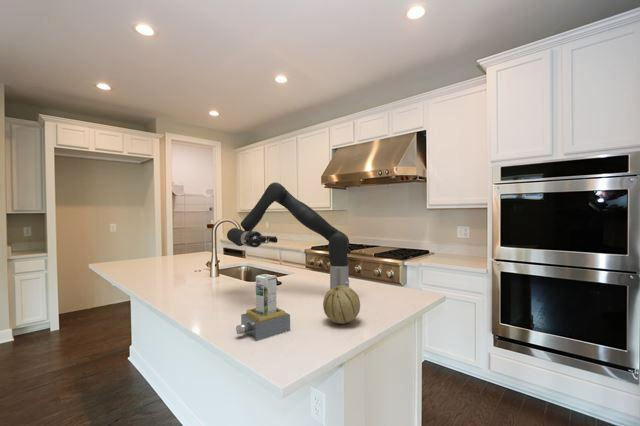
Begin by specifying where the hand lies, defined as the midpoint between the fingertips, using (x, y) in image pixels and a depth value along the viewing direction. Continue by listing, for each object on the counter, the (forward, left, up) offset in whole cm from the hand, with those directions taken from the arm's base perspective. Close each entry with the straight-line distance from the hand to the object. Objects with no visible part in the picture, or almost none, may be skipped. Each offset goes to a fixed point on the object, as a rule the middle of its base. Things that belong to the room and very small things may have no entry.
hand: (268, 241), depth 135 cm
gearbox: (-5, +22, -31) cm, 39 cm away
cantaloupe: (-33, +7, -32) cm, 47 cm away
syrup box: (-6, +20, -26) cm, 33 cm away
